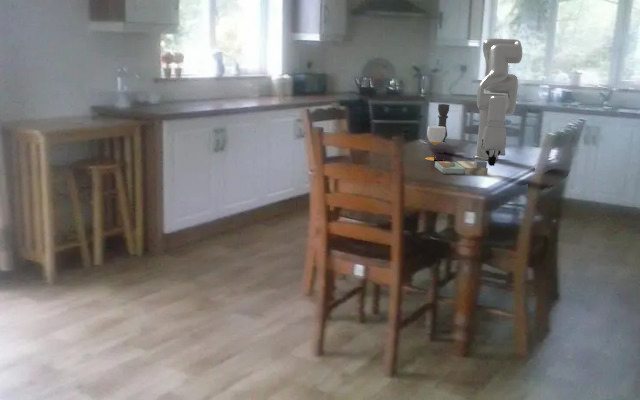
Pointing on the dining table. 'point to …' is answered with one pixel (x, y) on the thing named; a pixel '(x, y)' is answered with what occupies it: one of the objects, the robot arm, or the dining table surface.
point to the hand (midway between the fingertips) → (491, 165)
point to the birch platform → (472, 168)
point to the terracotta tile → (445, 164)
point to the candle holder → (443, 116)
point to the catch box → (452, 170)
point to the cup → (435, 136)
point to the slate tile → (480, 163)
